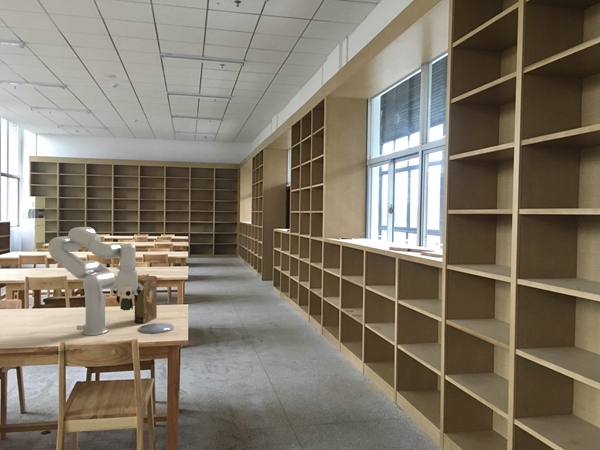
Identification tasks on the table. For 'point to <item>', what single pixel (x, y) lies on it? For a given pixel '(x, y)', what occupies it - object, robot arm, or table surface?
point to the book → (146, 300)
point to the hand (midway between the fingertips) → (127, 302)
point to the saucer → (156, 328)
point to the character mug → (126, 297)
